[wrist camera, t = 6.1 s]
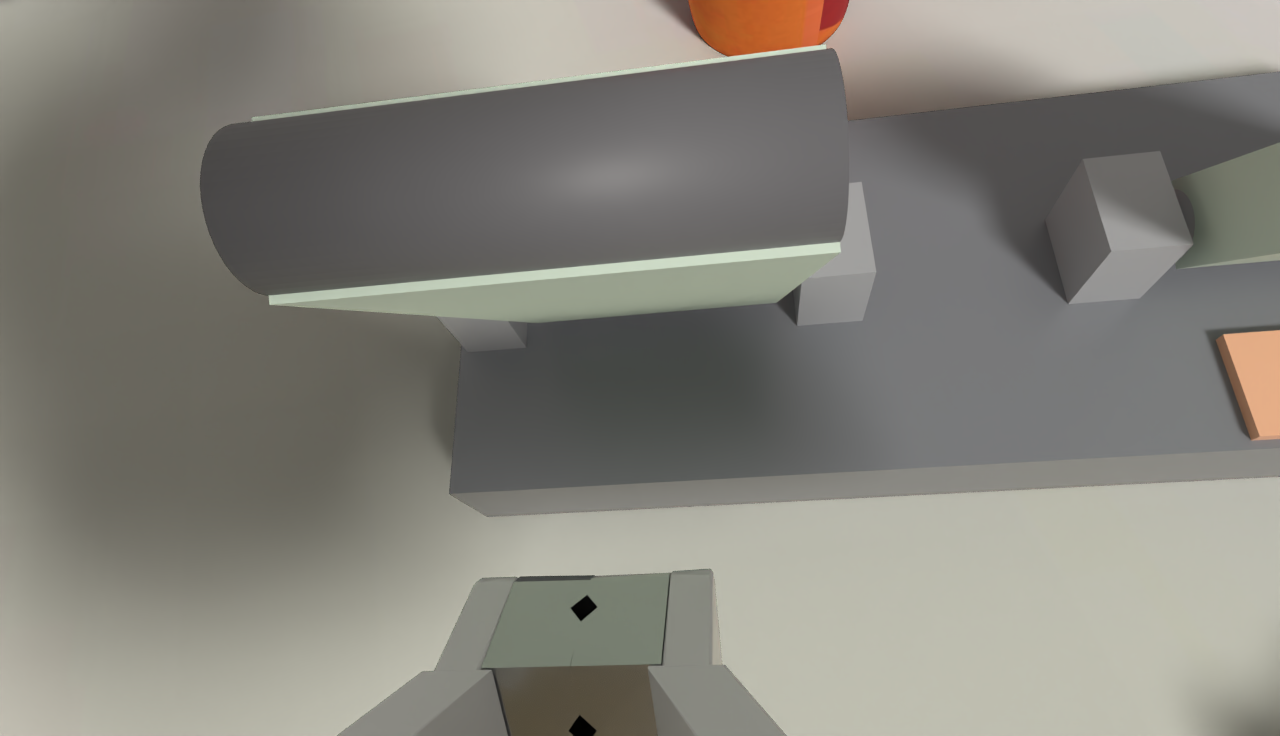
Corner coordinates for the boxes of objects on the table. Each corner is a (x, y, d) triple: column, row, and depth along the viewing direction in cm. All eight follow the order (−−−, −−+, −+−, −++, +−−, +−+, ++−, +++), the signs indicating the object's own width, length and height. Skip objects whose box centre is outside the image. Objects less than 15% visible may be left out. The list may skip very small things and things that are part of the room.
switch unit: (487, 516, 21) (407, 468, 16) (505, 216, 25) (445, 106, 20) (1530, 464, 18) (1813, 383, 13) (1361, 127, 21) (1532, -30, 17)
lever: (545, 323, 20) (210, 300, 7) (538, 247, 20) (190, 89, 7) (774, 304, 19) (856, 241, 6) (768, 225, 19) (839, 2, 6)
